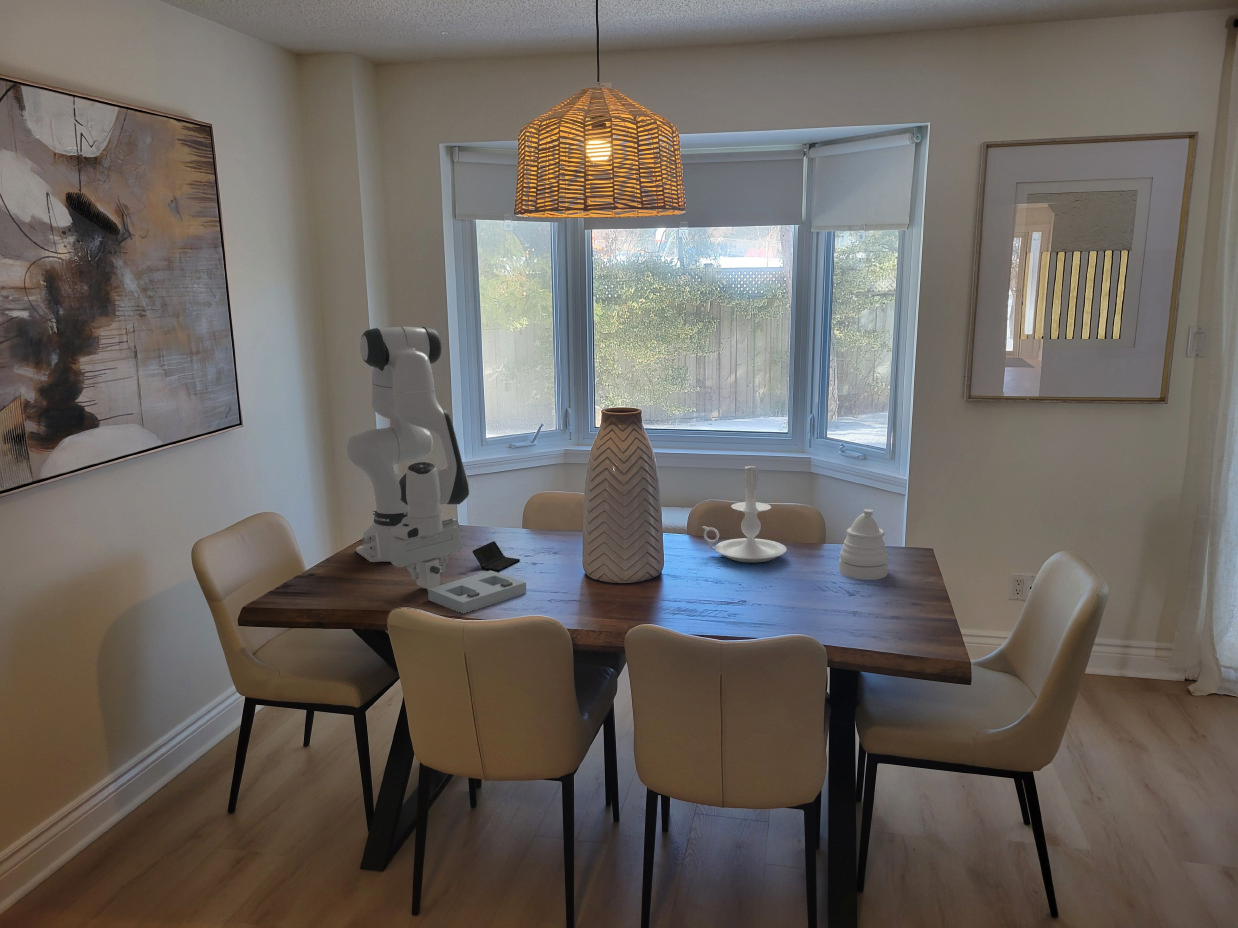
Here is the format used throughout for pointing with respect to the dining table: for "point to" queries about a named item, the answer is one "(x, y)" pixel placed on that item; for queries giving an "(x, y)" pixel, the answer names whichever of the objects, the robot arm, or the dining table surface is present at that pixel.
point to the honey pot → (864, 550)
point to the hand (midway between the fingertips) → (428, 575)
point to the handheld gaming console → (493, 558)
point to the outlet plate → (477, 591)
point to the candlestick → (748, 529)
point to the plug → (428, 573)
